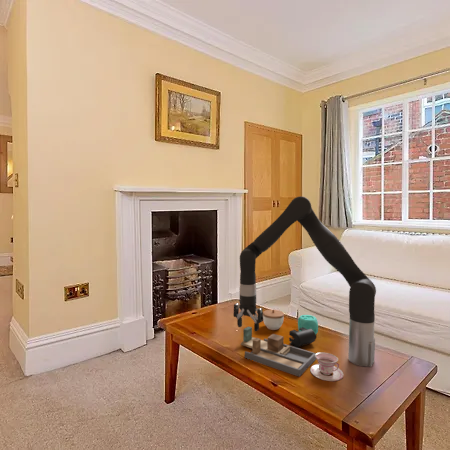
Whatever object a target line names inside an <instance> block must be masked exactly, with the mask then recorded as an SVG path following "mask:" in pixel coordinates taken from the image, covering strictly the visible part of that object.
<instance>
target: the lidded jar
mask: <svg viewBox="0 0 450 450" xmlns="http://www.w3.org/2000/svg"><path fill="white" fill-rule="evenodd" d="M284 316H285V313H284V312H283V311H281V310H278V309H266V310H264V311H263V321H262V322H263V323H264V326H265V327H266V328H267V330H272V331H277V330H279V329H280V328H281V327H282V325H283V324H284V319H285V317H284Z"/></svg>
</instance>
